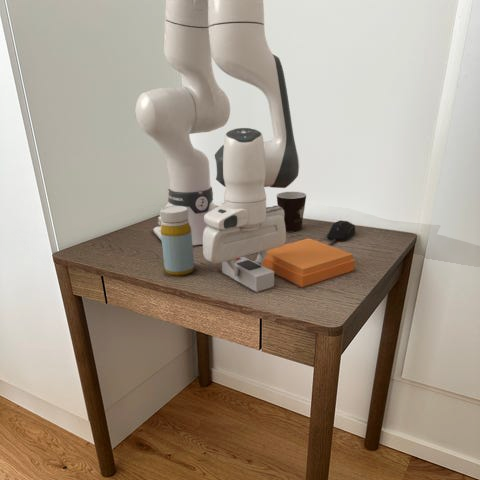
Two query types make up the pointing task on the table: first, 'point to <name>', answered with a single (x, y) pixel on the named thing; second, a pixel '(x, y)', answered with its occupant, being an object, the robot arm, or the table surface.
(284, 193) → the black cup
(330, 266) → the folded cloth
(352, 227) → the gaming mouse
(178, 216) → the bottle
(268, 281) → the remote
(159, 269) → the table surface
